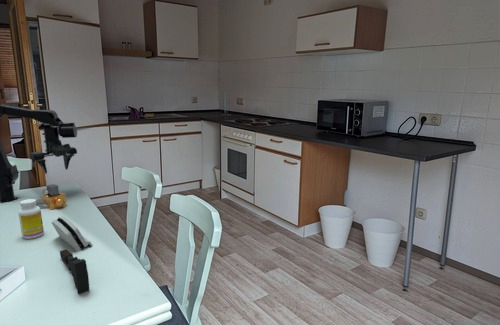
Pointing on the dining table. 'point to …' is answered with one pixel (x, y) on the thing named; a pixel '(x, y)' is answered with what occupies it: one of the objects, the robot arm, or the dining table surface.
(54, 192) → the tall grey box
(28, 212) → the supplement bottle
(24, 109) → the robot arm
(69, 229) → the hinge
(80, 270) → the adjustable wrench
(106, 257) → the dining table surface
